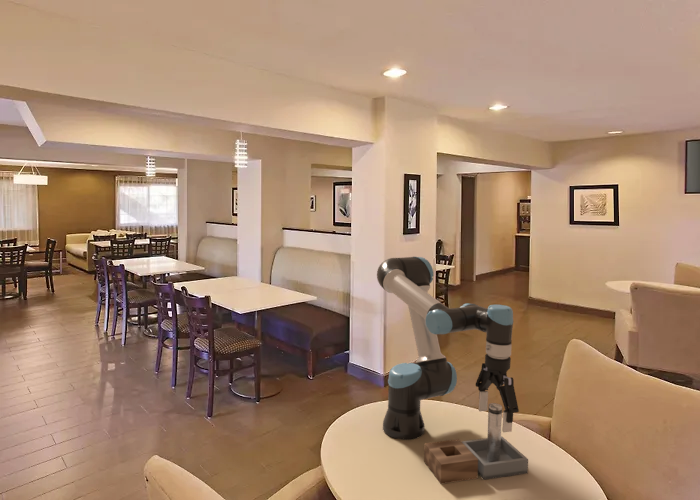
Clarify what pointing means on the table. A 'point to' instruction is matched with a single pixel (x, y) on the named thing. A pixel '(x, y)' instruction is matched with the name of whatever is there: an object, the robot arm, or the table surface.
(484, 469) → the tray
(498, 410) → the pin
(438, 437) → the table surface
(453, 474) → the wooden square socket block
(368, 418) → the table surface
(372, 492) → the table surface
